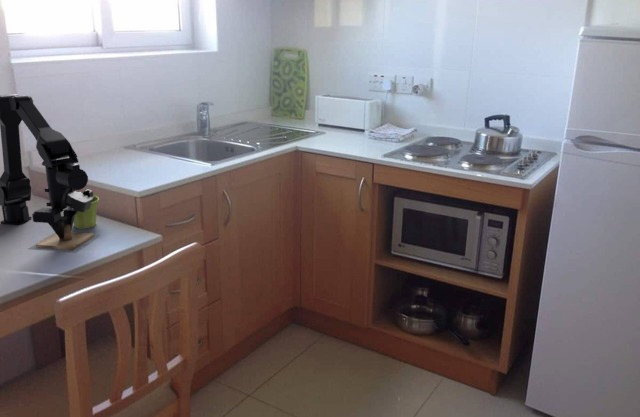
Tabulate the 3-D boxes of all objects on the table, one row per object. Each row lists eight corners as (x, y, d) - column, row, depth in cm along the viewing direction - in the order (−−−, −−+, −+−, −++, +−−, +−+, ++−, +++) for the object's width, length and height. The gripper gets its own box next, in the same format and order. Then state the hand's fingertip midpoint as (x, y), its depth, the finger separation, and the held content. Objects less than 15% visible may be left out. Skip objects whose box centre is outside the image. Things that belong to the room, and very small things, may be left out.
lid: (36, 247, 159) (34, 230, 158) (58, 233, 170) (56, 218, 168) (73, 250, 158) (71, 233, 157) (93, 236, 168) (92, 220, 167)
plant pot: (107, 222, 182) (104, 195, 179) (92, 232, 173) (90, 204, 170) (78, 220, 182) (75, 194, 180) (63, 230, 173) (59, 203, 171)
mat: (28, 250, 158) (27, 248, 158) (57, 232, 171) (57, 231, 171) (75, 254, 157) (75, 252, 156) (101, 236, 170) (101, 234, 170)
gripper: (67, 194, 149) (73, 250, 154) (103, 176, 166) (108, 227, 171) (27, 191, 150) (35, 247, 155) (67, 174, 168) (73, 224, 173)
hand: (65, 236), depth 163 cm, fingers closed on lid, 3 cm apart
